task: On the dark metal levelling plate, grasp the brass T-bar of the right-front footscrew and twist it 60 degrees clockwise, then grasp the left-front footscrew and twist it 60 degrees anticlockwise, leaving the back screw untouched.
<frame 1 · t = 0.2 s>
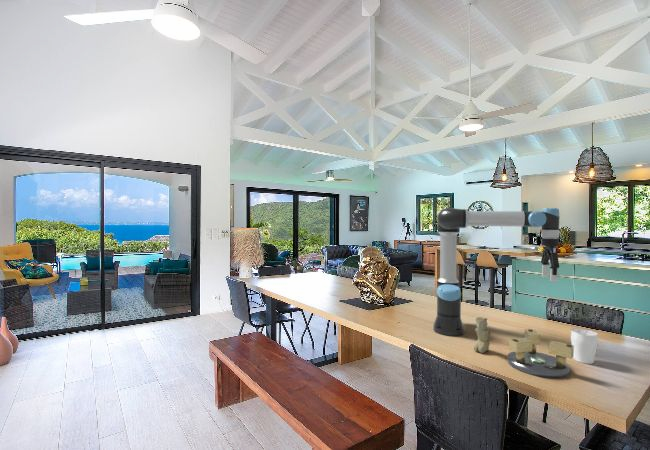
hand: (549, 279, 176), 28 cm above the table, fingers open, 13 cm apart
knob right: (561, 355, 131), point 7 cm above the table, hinge at 0.0°
sculpture: (481, 351, 152), on the table
plate: (537, 365, 137), on the table
knob back: (531, 342, 144), point 7 cm above the table, hinge at 0.0°
cup: (583, 361, 142), on the table
knob left: (520, 350, 135), point 7 cm above the table, hinge at 0.0°
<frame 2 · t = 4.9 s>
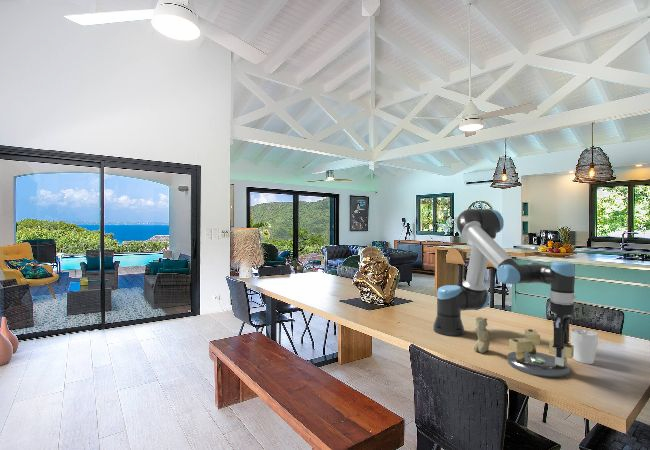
hand: (561, 363, 131), 4 cm above the table, fingers closed on knob right, 4 cm apart
knob right: (561, 355, 131), point 7 cm above the table, hinge at 0.0°, touching gripper
everything else where it was.
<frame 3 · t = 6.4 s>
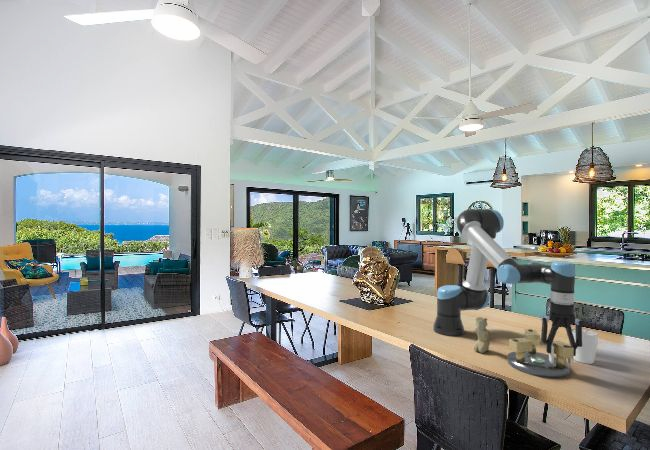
hand: (560, 362, 131), 4 cm above the table, fingers closed on knob right, 5 cm apart
knob right: (561, 355, 131), point 7 cm above the table, hinge at -38.4°, touching gripper
everything else where it was.
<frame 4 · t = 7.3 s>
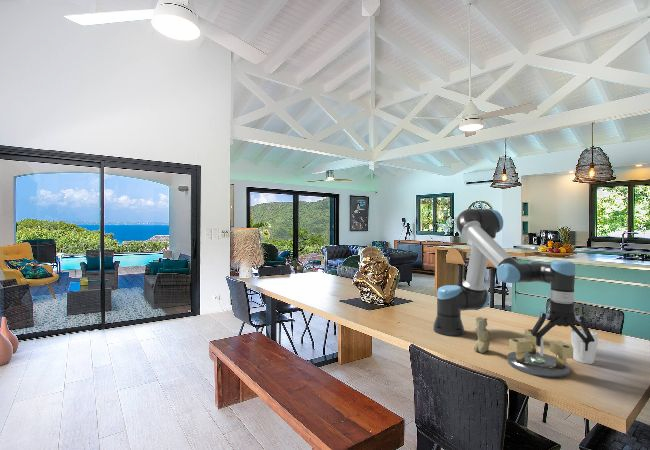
hand: (561, 356, 131), 6 cm above the table, fingers open, 13 cm apart
knob right: (561, 355, 131), point 7 cm above the table, hinge at -42.2°
everything else where it was.
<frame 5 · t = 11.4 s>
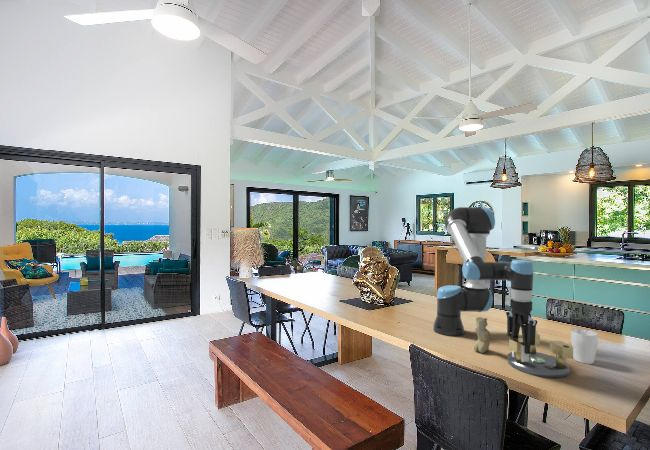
hand: (520, 358, 135), 4 cm above the table, fingers closed on knob left, 4 cm apart
knob right: (561, 355, 131), point 7 cm above the table, hinge at -42.8°
knob left: (520, 350, 135), point 7 cm above the table, hinge at 0.0°, touching gripper
everything else where it was.
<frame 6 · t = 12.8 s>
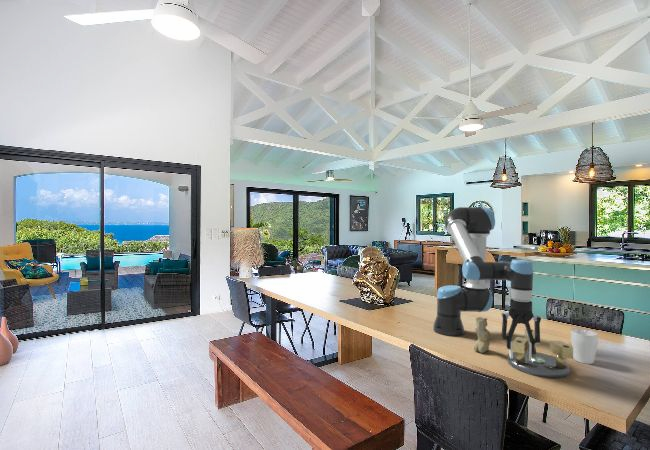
hand: (520, 358, 135), 4 cm above the table, fingers closed on knob left, 6 cm apart
knob left: (520, 350, 135), point 7 cm above the table, hinge at 35.9°, touching gripper
everything else where it was.
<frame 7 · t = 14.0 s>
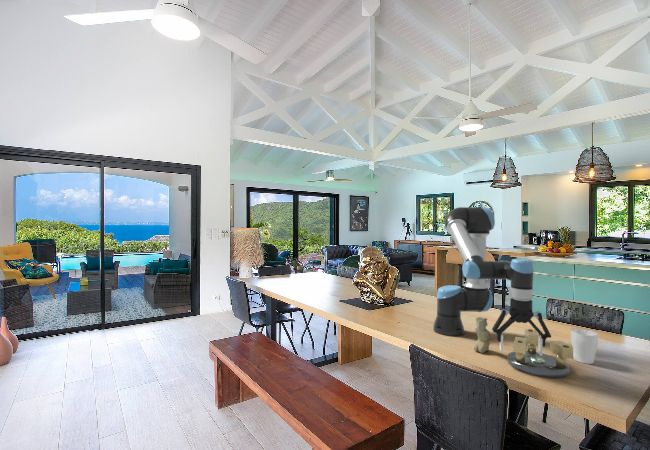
hand: (520, 352, 135), 6 cm above the table, fingers open, 13 cm apart
knob left: (520, 350, 135), point 7 cm above the table, hinge at 43.2°
everything else where it was.
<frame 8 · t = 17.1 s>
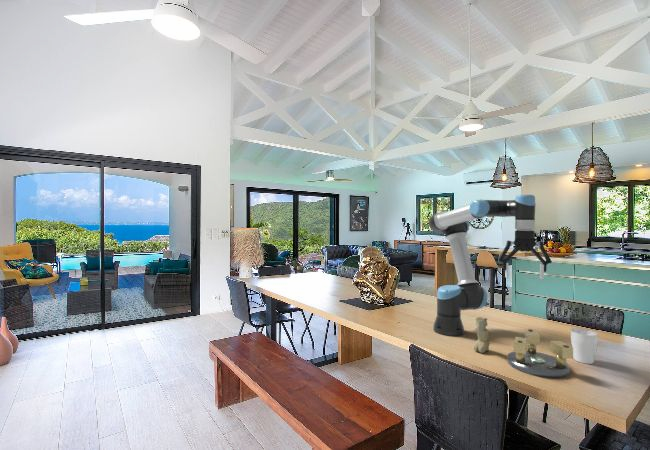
hand: (524, 278, 150), 33 cm above the table, fingers open, 13 cm apart
knob left: (520, 350, 135), point 7 cm above the table, hinge at 43.7°
everything else where it was.
at the end: knob right at -43° (first picture: +0°); knob left at +44° (first picture: +0°); knob back at +0° (first picture: +0°) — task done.
